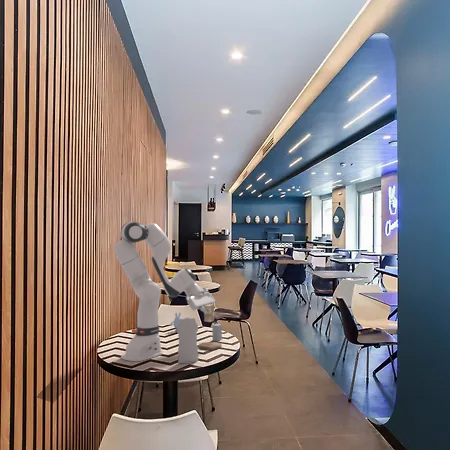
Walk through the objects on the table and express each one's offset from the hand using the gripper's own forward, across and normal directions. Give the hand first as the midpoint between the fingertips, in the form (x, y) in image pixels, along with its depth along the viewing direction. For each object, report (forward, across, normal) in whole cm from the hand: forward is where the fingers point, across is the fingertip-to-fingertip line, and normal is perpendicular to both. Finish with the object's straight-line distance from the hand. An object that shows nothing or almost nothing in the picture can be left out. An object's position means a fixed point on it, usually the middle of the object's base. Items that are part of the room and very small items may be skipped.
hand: (210, 312), depth 217 cm
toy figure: (-14, +21, +42) cm, 49 cm away
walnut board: (+13, 0, +14) cm, 19 cm away
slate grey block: (+10, +14, +17) cm, 24 cm away
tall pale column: (+17, -27, +11) cm, 34 cm away
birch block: (+3, 0, +4) cm, 5 cm away
